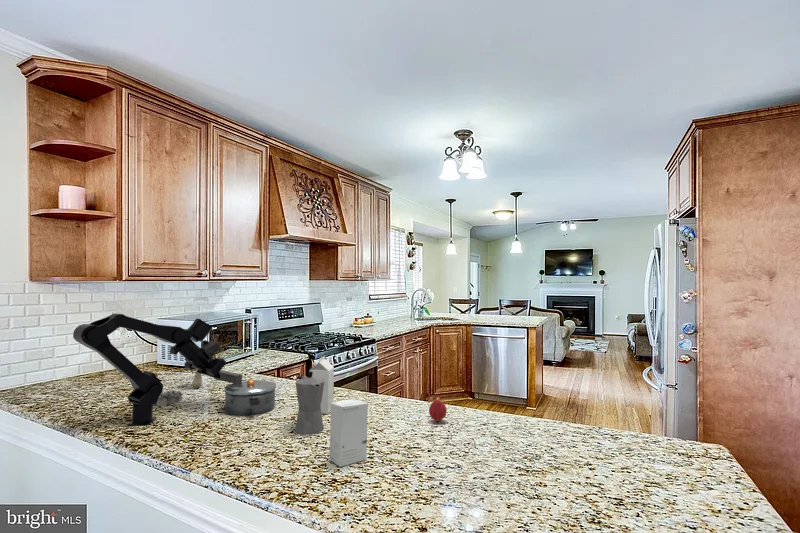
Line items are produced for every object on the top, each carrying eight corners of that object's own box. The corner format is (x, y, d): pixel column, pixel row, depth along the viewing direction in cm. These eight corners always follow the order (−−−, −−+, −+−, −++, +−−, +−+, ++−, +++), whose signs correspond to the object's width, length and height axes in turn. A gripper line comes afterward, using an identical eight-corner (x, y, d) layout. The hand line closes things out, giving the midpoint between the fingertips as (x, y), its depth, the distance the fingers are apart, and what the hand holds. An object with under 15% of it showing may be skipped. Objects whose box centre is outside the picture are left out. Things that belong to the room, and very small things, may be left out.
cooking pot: (280, 415, 149) (280, 395, 150) (227, 422, 142) (227, 400, 142) (269, 397, 172) (269, 379, 172) (222, 402, 165) (223, 383, 165)
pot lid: (286, 387, 159) (286, 376, 160) (244, 398, 145) (244, 385, 145) (236, 376, 176) (236, 367, 177) (195, 385, 162) (195, 374, 162)
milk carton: (333, 408, 158) (334, 356, 159) (328, 414, 151) (329, 359, 152) (314, 407, 159) (315, 355, 159) (308, 413, 152) (309, 358, 152)
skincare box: (339, 468, 108) (340, 407, 108) (328, 459, 113) (329, 402, 113) (368, 459, 113) (368, 402, 114) (356, 452, 118) (356, 397, 118)
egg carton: (160, 407, 158) (160, 396, 158) (146, 405, 161) (146, 394, 161) (185, 400, 168) (185, 389, 168) (171, 398, 171) (171, 387, 171)
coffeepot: (332, 433, 133) (333, 373, 133) (302, 439, 127) (303, 377, 128) (312, 419, 146) (313, 365, 146) (285, 424, 140) (286, 368, 141)
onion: (445, 425, 140) (445, 400, 141) (427, 424, 142) (428, 399, 142) (447, 420, 146) (447, 396, 146) (430, 418, 147) (430, 394, 148)
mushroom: (197, 392, 179) (198, 355, 180) (179, 388, 185) (180, 353, 185) (215, 387, 187) (216, 352, 188) (198, 384, 193) (198, 350, 193)
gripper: (221, 336, 154) (248, 362, 163) (192, 332, 165) (219, 357, 174) (200, 362, 148) (228, 388, 156) (171, 356, 158) (199, 381, 167)
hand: (219, 377), depth 164 cm, fingers closed
